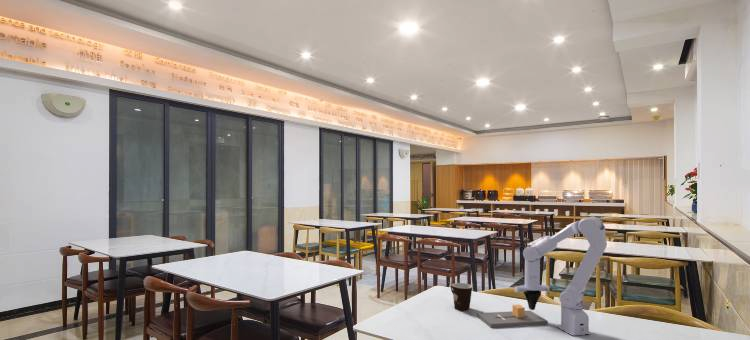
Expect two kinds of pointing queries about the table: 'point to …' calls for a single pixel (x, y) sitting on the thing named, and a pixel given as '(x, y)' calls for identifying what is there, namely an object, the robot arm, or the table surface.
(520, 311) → the fader knob
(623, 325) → the table surface
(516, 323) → the board
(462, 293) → the coffee mug
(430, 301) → the table surface
